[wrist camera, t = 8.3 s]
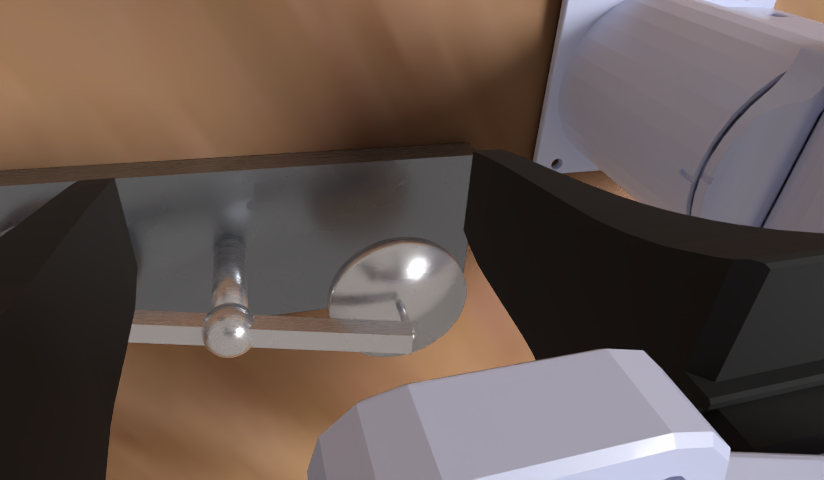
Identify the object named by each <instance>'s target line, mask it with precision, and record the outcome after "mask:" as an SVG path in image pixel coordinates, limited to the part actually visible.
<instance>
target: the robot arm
mask: <svg viewBox="0 0 824 480" xmlns="http://www.w3.org/2000/svg"><path fill="white" fill-rule="evenodd" d="M775 2H776V0H563V1H562V6H561V11H560V17H559V22H558V28H557V33H556V38H555V44H554V49H553V55H552V60H551V65H550V71H549V76H548V82H547V87H546V93H545V98H544V103H543V109H542V114H541V120H540V125H539V130H538V136H537V141H536V147H535V152H534V157H533V161H531V160H529V159H526V158H524V157H521V156H518V155H516V154H513V153H510V152H507V151H503V150H486V151H473V157H472V165H471V173H470V181H469V189H468V197H467V205H466V213H465V221H464V230H463V231H464V233H465V235H466V238H467V240H468V243H469V245H470V248H471V250H472V252H473V255H474V257H475V259H476V261H477V264H478V265H479V267H480V269H481V270H482V272H483V274H484V275H485V277H486V279H487V280H488V282H489V283H490V285H491V287H492V288H493V290H494V291H495V293H496V295H497V296H498V298H499V299H500V301H501V302H502V304H503V306H504V307H505V309H506V310H507V312H508V313H509V315H510V317H511V318H512V320H513V321H514V323H515V324H516V326H517V327H518V329H519V331H520V332H521V334H522V335H523V337H524V339H525V341H526V342H527V344H528V346H529V348H530V349H531V351H532V353H533V355H534V357H535V359H536V361H530V362H525V363H519V364H514V365H508V366H503V367H497V368H492V369H486V370H481V371H475V372H470V373H464V374H459V375H453V376H448V377H442V378H437V379H431V380H426V381H420V382H415V383H409V384H404V385H401V386H399V387H396V388H393V389H391V390H388V391H385V392H383V393H380V394H377V395H374V396H372V397H369V398H366V399H364V400H361V401H359V402H358V403H356V404H355V405H354V406H353V407H352V408H351V409H350V410H348V411H347V412H346V413H345V414H344V415H343V416H342V417H340V418H339V419H338V420H337V421H336V422H335V423H334V424H332V425H331V426H330V427H329V428H328V429H327V430H326V431H324V432H323V433H322V434H321V435H320V436H319V437H318V440H317V443H316V446H315V449H314V452H313V455H312V458H311V461H310V464H309V467H308V470H307V475H308V480H824V23H821V22H817V21H814V20H810V19H807V18H804V17H800V16H797V15H793V14H790V13H786V12H783V11H779V10H776V9H773V7H774V5H775ZM555 159H558V162H557V163H556V164H555V165H552V166H551V164H552V162H553V161H554V160H555ZM599 170H601V171H602V172H604V173H605V174H606V175H607V176H608V177H609V178H611V179H612V180H613V181H614V182H615V183H616V184H618V185H619V186H620V187H621V188H622V189H623V190H625V191H626V192H627V193H628V194H629V195H630V196H631V197H633V198H634V199H635V200H636V201H637V202H636V201H633V200H630V199H627V198H624V197H621V196H618V195H615V194H612V193H610V192H607V191H604V190H601V189H599V188H596V187H593V186H591V185H588V184H586V183H583V182H581V181H578V180H576V179H573V178H571V177H569V176H566V175H564V174H561V173H573V172H586V171H599ZM136 289H137V263H136V259H135V255H134V251H133V247H132V243H131V239H130V236H129V232H128V228H127V224H126V220H125V216H124V212H123V208H122V204H121V201H120V197H119V193H118V189H117V185H116V181H115V178H106V179H92V180H79V181H77V182H75V183H73V184H72V185H70V186H69V187H67V188H66V189H64V190H63V191H62V192H60V193H59V194H58V195H56V196H55V197H54V198H52V199H51V200H50V201H48V202H47V203H46V204H44V205H43V206H42V207H41V208H39V209H38V210H37V211H35V212H34V213H32V214H31V215H30V216H28V217H27V218H26V219H24V220H23V221H22V222H20V223H19V224H18V225H16V226H15V227H14V228H12V229H11V230H9V231H8V232H6V233H5V234H4V235H2V236H1V237H0V480H105V479H106V467H107V457H108V446H109V436H110V426H111V420H112V414H113V408H114V403H115V398H116V394H117V389H118V385H119V380H120V376H121V371H122V367H123V363H124V358H125V354H126V349H127V345H128V340H129V336H130V331H131V326H132V322H133V317H134V312H135V304H136Z"/></svg>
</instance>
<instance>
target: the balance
mask: <svg viewBox="0 0 824 480" xmlns="http://www.w3.org/2000/svg"><path fill="white" fill-rule="evenodd" d="M473 151H475V150H474V149H473V147H472V146H471V145H470V144H469V143H453V144H436V145H420V146H403V147H387V148H370V149H353V150H337V151H320V152H304V153H287V154H270V155H254V156H237V157H221V158H204V159H188V160H171V161H154V162H138V163H121V164H105V165H88V166H72V167H55V168H38V169H22V170H5V171H0V237H1V236H2V235H4V234H5V233H6V232H8V231H9V230H11V229H12V228H14V227H15V226H16V225H18V224H19V223H20V222H22V221H23V220H24V219H26V218H27V217H28V216H30V215H31V214H32V213H34V212H35V211H37V210H38V209H39V208H41V207H42V206H43V205H44V204H46V203H47V202H48V201H50V200H51V199H52V198H54V197H55V196H56V195H58V194H59V193H60V192H62V191H63V190H64V189H66V188H67V187H69V186H70V185H72V184H73V183H75V182H77V181H79V180H92V179H106V178H115V181H116V185H117V189H118V193H119V197H120V201H121V204H122V208H123V212H124V216H125V220H126V224H127V228H128V232H129V236H130V239H131V243H132V247H133V251H134V255H135V259H136V263H137V289H136V304H135V312H134V317H133V322H132V326H131V331H130V336H129V340H128V342H131V343H156V344H180V345H205V346H206V348H207V349H208V350H209V351H210V352H211V353H213V354H214V355H216V356H219V357H223V358H233V357H237V356H240V355H242V354H244V353H246V352H247V351H248V350H249V349H250V348H251V347H254V348H278V349H302V350H327V351H351V352H359V353H362V354H365V355H370V356H377V357H392V356H400V355H405V354H411V353H412V352H415V351H417V350H420V349H422V348H424V347H426V346H428V345H430V344H431V343H433V342H435V341H436V340H438V339H439V338H440V337H441V336H443V335H444V334H445V333H446V332H447V331H448V330H449V329H450V328H451V327H452V326H453V324H454V323H455V322H456V320H457V319H458V317H459V316H460V314H461V312H462V310H463V307H464V304H465V300H466V290H467V289H466V282H465V278H464V275H463V273H464V265H465V257H466V249H467V241H468V240H467V238H466V235H465V233H464V231H463V230H464V221H465V213H466V205H467V197H468V189H469V181H470V173H471V165H472V157H473ZM326 308H328V312H329V317H330V318H318V317H295V316H271V315H279V314H287V313H294V312H302V311H310V310H318V309H326Z"/></svg>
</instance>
